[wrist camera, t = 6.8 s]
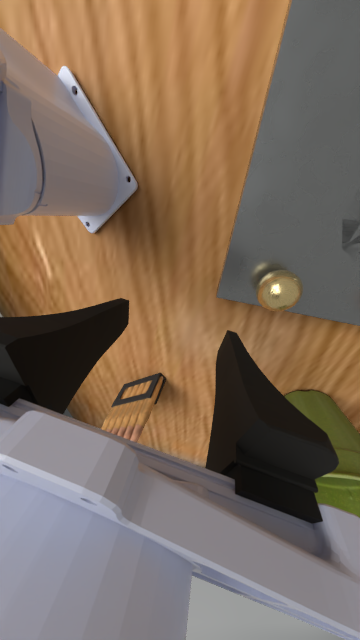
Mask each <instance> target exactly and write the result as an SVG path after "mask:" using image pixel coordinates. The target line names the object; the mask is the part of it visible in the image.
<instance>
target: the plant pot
mask: <svg viewBox="0 0 360 640" xmlns="http://www.w3.org/2000/svg"><path fill="white" fill-rule="evenodd" d="M284 397H285V398H286V399H287V400H288V401H289V402H290V403H291V404H293V405H294V406H295V407H296V408H297V409H298V410H299V411H300V412H301V413H303V414H304V415H305V416H306V417H307V418H309V419H310V420H311V421H312V422H314V423H315V424H316V425H317V426H319V427H320V428H321V429H322V430H323V431H325V432H326V433H327V435H328V437H329V439H330V441H331V443H332V445H333V448H334V450H335V452H336V454H337V456H338V458H339V464H338V466H337V468H336V469H335V470H334V471H332V472H330V473H328V474H326V475H324V476H321V477H319V478H317V479H315V481H316V484H317V487H318V492H317V493H314V494H315V497H316V500H317V503H321V504H327V505H331V506H333V507H336V508H339V509H341V510H344V511H347V512H349V513H352V514H355V515H357V516H358V517H359V518H360V434H359V433H358V431H357V430H356V429H355V428H354V426H353V425H352V424H351V423H350V421H349V420H348V419H347V418H346V416H345V415H344V414H343V412H342V411H341V410H340V409H339V407H338V406H337V405H336V404H335V402H334V401H333V400H332V399H331V398H330V397H329V396H328V395H326V394H324V393H321V392H318V391H312V390H310V391H294V392H291V393H289V394H287V395H285V396H284Z"/></svg>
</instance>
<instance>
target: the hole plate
mask: <svg viewBox="0 0 360 640" xmlns="http://www.w3.org/2000/svg"><path fill="white" fill-rule="evenodd" d="M276 270H287V271H291V272H293V273H294V274H296V275H297V276H298V277H299V278H300V280H301V281H302V284H303V293H302V296H301V298H300V300H299V301H298V302H297V304H295V305H294V306H293V307H291V308H289V309H287V310H284V311H288V312H293V313H298V314H303V315H308V316H313V317H318V318H323V319H328V320H333V321H338V322H343V323H348V324H353V325H358V326H360V0H290V2H289V6H288V10H287V14H286V18H285V22H284V26H283V30H282V34H281V38H280V42H279V46H278V50H277V54H276V58H275V62H274V66H273V70H272V74H271V78H270V82H269V86H268V89H267V93H266V97H265V101H264V105H263V109H262V113H261V117H260V121H259V125H258V129H257V133H256V137H255V141H254V145H253V149H252V153H251V157H250V161H249V165H248V169H247V173H246V177H245V181H244V185H243V189H242V193H241V197H240V201H239V205H238V209H237V213H236V217H235V221H234V225H233V229H232V233H231V237H230V241H229V245H228V249H227V253H226V257H225V261H224V265H223V269H222V273H221V277H220V281H219V285H218V289H217V297H218V298H223V299H228V300H233V301H238V302H243V303H248V304H253V305H258V306H262V305H261V304H260V303H259V302H258V300H257V297H256V288H257V285H258V283H259V281H260V280H261V279H262V278H263V277H264V276H265V275H266V274H268V273H270V272H272V271H276Z"/></svg>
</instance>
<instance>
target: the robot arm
mask: <svg viewBox="0 0 360 640" xmlns="http://www.w3.org/2000/svg"><path fill="white" fill-rule="evenodd" d="M76 89H77V92H78V93H77V95H76V94H75V91H76ZM128 177H130V178H131V181H130V182H128ZM137 188H138V184H137V181H136V180H135V178H134V176H133V175H132V173H131V171H130V169H129V168H128V166H127V164H126V163H125V161H124V159H123V158H122V156H121V154H120V153H119V151H118V149H117V147H116V146H115V144H114V142H113V141H112V139H111V137H110V136H109V134H108V132H107V131H106V129H105V127H104V126H103V124H102V122H101V120H100V119H99V117H98V115H97V114H96V112H95V110H94V109H93V107H92V105H91V104H90V102H89V100H88V98H87V97H86V95H85V93H84V92H83V90H82V88H81V87H80V85H79V83H78V82H77V80H76V78H75V77H74V75H73V73H72V72H71V70H70V69H69V68H68V67H66V66H62V68H61V70H60V72H59V74H58V76H57V75H56V74H55V73H54V72H52V71H51V70H50V69H49V68H48V67H46V66H45V65H44V64H43V63H42V62H41V61H39V60H38V59H37V58H36V57H35V56H33V55H32V54H31V53H30V52H29V51H27V50H26V49H25V48H24V47H23V46H21V45H20V44H19V43H18V42H17V41H16V40H14V39H13V38H12V37H11V36H10V35H8V34H7V33H6V32H5V31H4V30H2V29H1V28H0V225H10V224H14V221H15V219H16V217H18V216H20V215H44V216H78V218H79V219H80V220H81V222H82V223H83V224H84V226H85V227H86V228H87V230H88V231H89V232H90V233H95V232H96V231H97V230H98V229H99V228H100V227H101V226H102V225H103V224H104V223H105V222H106V221H107V220H108V219H109V218H110V217H111V216H112V215H113V214H114V213H115V212H116V211H117V210H118V209H119V208H120V207H121V206H122V205H123V204H124V202H125V201H126V200H127V199H128V198H129V197H130V196H131V195H132V194H133V193H134V192H135V191H136V190H137ZM88 222H89V224H90V226H89V225H88ZM128 320H129V300H126V299H122V298H120V299H116V300H112V301H109V302H105V303H102V304H98V305H95V306H91V307H87V308H83V309H79V310H75V311H70V312H64V313H58V314H50V315H41V316H29V317H0V640H186V630H187V620H188V609H189V599H190V588H191V578H192V576H195V577H197V578H199V579H202V580H204V581H207V582H209V583H212V584H214V585H216V586H219V587H221V588H224V589H226V590H229V591H231V592H233V593H236V594H238V595H241V596H243V597H246V598H248V599H250V600H253V601H255V602H258V603H260V604H263V605H265V606H267V607H270V608H272V609H275V610H277V611H279V612H282V613H284V614H287V615H289V616H291V617H294V618H296V619H298V620H301V621H303V622H306V623H308V624H310V625H313V626H315V627H317V628H320V629H322V630H325V631H327V632H329V633H331V634H334V635H336V636H338V637H341V638H343V639H345V640H360V518H359V517H358V516H357V515H355V514H352V513H349V512H347V511H344V510H341V509H339V508H336V507H333V506H331V505H327V504H321V503H317V500H316V497H315V494H314V493H317V492H318V487H317V484H316V481H315V479H317V478H319V477H321V476H324V475H326V474H328V473H330V472H332V471H334V470H335V469H336V468H337V466H338V464H339V458H338V456H337V454H336V452H335V450H334V448H333V445H332V443H331V441H330V439H329V437H328V435H327V433H326V432H325V431H323V430H322V429H321V428H320V427H319V426H317V425H316V424H315V423H314V422H312V421H311V420H310V419H309V418H307V417H306V416H305V415H304V414H303V413H301V412H300V411H299V410H298V409H297V408H296V407H295V406H294V405H293V404H291V403H290V402H289V401H288V400H287V399H286V398H285V397H284V396H283V395H282V394H281V393H280V392H279V391H278V390H277V389H276V388H275V387H274V386H273V384H272V383H271V382H270V381H269V380H268V379H267V378H266V376H265V375H264V374H263V373H262V372H261V370H260V369H259V368H258V366H257V365H256V364H255V362H254V361H253V359H252V358H251V356H250V355H249V353H248V352H247V350H246V348H245V347H244V345H243V343H242V342H241V340H240V338H239V336H238V335H237V333H235V332H232V331H229V330H227V333H226V335H225V337H224V339H223V341H222V344H221V346H220V348H219V350H218V354H217V360H216V395H215V406H214V415H213V422H212V430H211V436H210V443H209V450H208V456H207V462H206V468H203V467H200V466H198V465H195V464H192V463H190V462H187V461H184V460H182V459H179V458H176V457H174V456H171V455H168V454H166V453H163V452H161V451H158V450H155V449H153V448H150V447H147V446H145V445H142V444H139V443H137V442H134V441H131V440H129V439H126V438H123V437H121V436H118V435H115V434H113V433H110V432H107V431H105V430H102V429H100V428H97V427H94V426H92V425H89V424H86V423H84V422H81V421H78V420H76V419H73V418H70V417H68V416H65V415H63V413H64V411H65V410H66V408H67V406H68V405H69V403H70V401H71V400H72V398H73V397H74V395H75V393H76V392H77V390H78V389H79V387H80V386H81V384H82V383H83V381H84V380H85V378H86V377H87V375H88V374H89V372H90V371H91V370H92V368H93V367H94V365H95V364H96V363H97V361H98V360H99V359H100V358H101V356H102V355H103V354H104V353H105V352H106V351H107V350H108V349H109V347H110V346H111V345H112V344H113V343H114V342H115V341H116V340H117V339H118V337H119V336H120V335H121V334H122V333H123V331H124V330H125V328H126V327H127V325H128Z"/></svg>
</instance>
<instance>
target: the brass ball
mask: <svg viewBox="0 0 360 640" xmlns="http://www.w3.org/2000/svg"><path fill="white" fill-rule="evenodd" d="M302 293H303V284H302V281H301V280H300V278H299V277H298V276H297V275H296V274H294V273H293V272H291V271H287V270H276V271H272V272H270V273H268V274H266V275H265V276H264V277H263V278H262V279H261V280H260V281H259V283H258V285H257V288H256V297H257V300H258V302H259V303H260V304H261V305H262V306H263V307H264V308H266V309H268V310H271V311H284V310H287V309H289V308H291V307H293V306H294V305H295V304H297V302H298V301H299V300H300V298H301V296H302Z"/></svg>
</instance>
